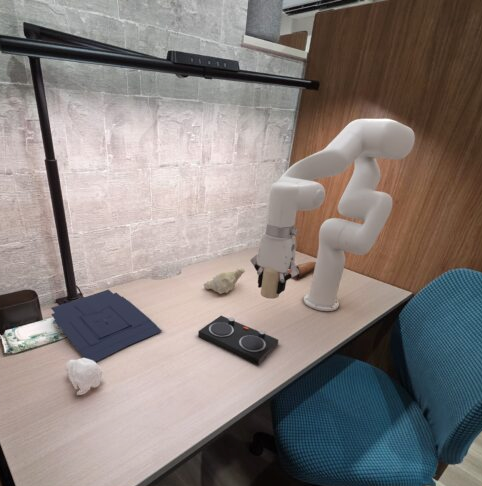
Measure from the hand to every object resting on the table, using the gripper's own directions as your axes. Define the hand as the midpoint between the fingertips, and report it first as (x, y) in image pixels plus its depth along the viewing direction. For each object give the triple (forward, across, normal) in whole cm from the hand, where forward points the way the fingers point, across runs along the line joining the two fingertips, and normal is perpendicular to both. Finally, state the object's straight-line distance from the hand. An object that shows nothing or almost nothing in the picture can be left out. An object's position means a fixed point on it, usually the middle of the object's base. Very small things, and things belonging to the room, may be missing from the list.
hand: (270, 288), depth 95 cm
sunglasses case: (+15, +10, -53) cm, 56 cm away
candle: (+2, 0, 0) cm, 2 cm away
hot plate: (+15, +3, +11) cm, 19 cm away
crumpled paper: (+15, +23, +51) cm, 58 cm away
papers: (+15, +40, +32) cm, 54 cm away
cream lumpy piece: (+15, +26, -16) cm, 34 cm away
